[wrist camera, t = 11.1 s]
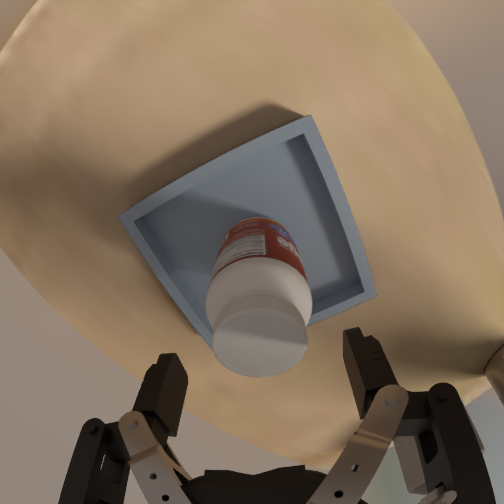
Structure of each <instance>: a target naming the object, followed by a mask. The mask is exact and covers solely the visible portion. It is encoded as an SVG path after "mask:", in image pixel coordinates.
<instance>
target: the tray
mask: <svg viewBox="0 0 504 504" xmlns="http://www.w3.org/2000/svg"><path fill="white" fill-rule="evenodd" d="M251 217H265V218H270V219H273V220H275V221H277V222H279V223H280V224H282V225H283V226H284V227H285V228H286V229H287V230H288V231H289V232H290V233H291V235H292V237H293V238H294V241H295V243H296V246H297V249H298V252H299V255H300V259H301V261H302V265H303V268H304V271H305V274H306V278H307V281H308V284H309V288H310V292H311V296H312V313H311V317H310V319H309V322H308V324H307V326H308V325H311V324H313V323H316V322H318V321H321V320H323V319H326V318H328V317H330V316H333V315H335V314H337V313H340V312H342V311H344V310H347V309H349V308H351V307H353V306H356V305H358V304H360V303H362V302H365V301H367V300H369V299H371V298H373V297H375V296H377V293H376V289H375V285H374V282H373V278H372V275H371V271H370V268H369V264H368V261H367V258H366V254H365V251H364V248H363V245H362V242H361V239H360V236H359V233H358V230H357V227H356V224H355V221H354V218H353V215H352V212H351V209H350V207H349V204H348V201H347V198H346V196H345V193H344V190H343V188H342V185H341V183H340V180H339V178H338V175H337V173H336V170H335V168H334V165H333V163H332V160H331V158H330V156H329V153H328V151H327V149H326V146H325V144H324V142H323V140H322V137H321V135H320V133H319V131H318V129H317V126H316V124H315V122H314V120H313V118H312V116H311V115H306V116H303V117H301V118H298V119H296V120H293V121H291V122H289V123H286V124H284V125H282V126H280V127H277V128H275V129H273V130H271V131H268V132H266V133H264V134H262V135H260V136H258V137H256V138H253V139H251V140H249V141H247V142H245V143H243V144H241V145H239V146H237V147H235V148H233V149H231V150H229V151H227V152H225V153H223V154H221V155H219V156H217V157H215V158H213V159H212V160H210V161H208V162H206V163H204V164H202V165H200V166H199V167H197V168H195V169H193V170H191V171H190V172H188V173H186V174H184V175H182V176H181V177H179V178H177V179H175V180H174V181H172V182H170V183H169V184H167V185H165V186H164V187H162V188H160V189H159V190H157V191H155V192H154V193H152V194H150V195H149V196H147V197H145V198H144V199H142V200H141V201H139V202H138V203H136V204H134V205H133V206H131V207H130V208H128V209H127V210H126V211H124V212H123V213H122V214H121V215H119V216H118V218H119V220H120V221H121V223H122V225H123V226H124V228H125V229H126V231H127V233H128V234H129V236H130V237H131V239H132V240H133V242H134V244H135V245H136V247H137V248H138V250H139V251H140V253H141V254H142V256H143V257H144V259H145V260H146V262H147V263H148V265H149V266H150V268H151V269H152V271H153V272H154V273H155V275H156V276H157V278H158V279H159V281H160V282H161V283H162V285H163V286H164V288H165V289H166V290H167V292H168V293H169V295H170V296H171V297H172V299H173V300H174V301H175V303H176V304H177V306H178V307H179V308H180V310H181V311H182V312H183V314H184V315H185V316H186V317H187V319H188V320H189V321H190V323H191V324H192V325H193V327H194V328H195V329H196V330H197V332H198V333H199V334H200V335H201V337H202V338H203V339H204V340H205V342H206V343H207V344H208V345H209V347H210V348H211V349H212V350H213V348H212V335H213V328H212V326H211V325H210V323H209V320H208V318H207V314H206V307H205V303H206V296H207V291H208V287H209V284H210V280H211V276H212V273H213V269H214V265H215V261H216V258H217V255H218V251H219V248H220V244H221V241H222V239H223V237H224V235H225V234H226V232H227V231H228V230H229V229H230V228H231V227H232V226H233V225H235V224H236V223H238V222H239V221H241V220H244V219H247V218H251Z"/></svg>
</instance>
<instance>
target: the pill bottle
mask: <svg viewBox="0 0 504 504" xmlns="http://www.w3.org/2000/svg"><path fill="white" fill-rule="evenodd" d="M205 307H206V314H207V318H208V320H209V323H210V325H211V326H212V328H213V335H212V348H213V352H214V354H215V356H216V358H217V359H218V360H219V362H220V363H221V364H222V365H224V366H225V367H226V368H228V369H229V370H231V371H233V372H235V373H238V374H240V375H244V376H249V377H269V376H274V375H278V374H281V373H283V372H285V371H287V370H289V369H291V368H292V367H294V366H295V365H296V364H297V363H298V362H299V361H300V360H301V359H302V357H303V356H304V354H305V352H306V349H307V344H308V338H307V332H306V326H307V324H308V322H309V319H310V317H311V313H312V296H311V292H310V288H309V284H308V281H307V278H306V274H305V271H304V268H303V265H302V261H301V259H300V255H299V252H298V249H297V246H296V243H295V241H294V238H293V237H292V235H291V233H290V232H289V231H288V230H287V229H286V228H285V227H284V226H283V225H282V224H280V223H279V222H277V221H275V220H273V219H270V218H265V217H251V218H247V219H244V220H241V221H239V222H238V223H236V224H235V225H233V226H232V227H231V228H230V229H229V230H228V231H227V232H226V234H225V235H224V237H223V239H222V241H221V244H220V248H219V251H218V255H217V258H216V261H215V265H214V269H213V273H212V276H211V280H210V284H209V287H208V291H207V296H206V303H205Z"/></svg>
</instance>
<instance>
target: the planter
mask: <svg viewBox="0 0 504 504" xmlns="http://www.w3.org/2000/svg"><path fill="white" fill-rule="evenodd" d="M462 403H463V402H462ZM463 406H464V404H463ZM464 408H465V406H464ZM465 410H466V408H465ZM466 413H467V415H468V418H469V420H470V422H471V425H472V428H473V430H474V433H475V435H476V438H477V441H478V443H479V446H480V449H481V452H482V454H483V452H484V446H483V444H482V442H481V439H480V437H479V435H478V433H477V431H476V428H475V427H474V424H473V423H472V420H471V418H470V416H469V414H468V412H467V410H466ZM393 442H394V445H395V449H396V451H397V455H398V458H399V462H400V465H401V468H402V472H403V476H404V479H405V483H406V486H407V490H408V492H409V493H415V494H421V495H428V493H427V488H426V483H425V478H424V474H423V470H422V465H421V461H420V457H419V453H418V449H417V446H416V442H415V438H414V436H396V437H395V438H394V439H393Z"/></svg>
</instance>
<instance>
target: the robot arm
mask: <svg viewBox="0 0 504 504" xmlns="http://www.w3.org/2000/svg"><path fill="white" fill-rule="evenodd" d="M343 358H344V363H345V367H346V370H347V374H348V377H349V380H350V384H351V387H352V391H353V394H354V398H355V401H356V405H357V409H358V412H359V416H360V420H361V419H364V420H363V422H362V423H361V425H360V427H359V429H358V430H357V432H356V433H354V434H353V435H352V437H351V438H350V440H349V442H348V443H347V445H346V447H345V448H344V450H343V452H342V453H341V455H340V456H339V458H338V460H337V461H336V463H335V464H334V466H333V467H332V469H331V470H330V472H329V473H328V475H327V474H324V473H321V472H318V471H313V470H305V465H299V466H291V467H282V468H277V469H274V470H270V471H267V472H263V473H260V474H256V475H249V474H244V473H238V472H234V471H229V470H205V474H204V475H203V476H199V477H196V478H194V479H192V478H191V476H190V475H189V474H188V473H187V472H186V471H185V469H184V468H183V466H182V465H181V463H180V462H179V460H178V458H177V457H176V455H175V454H174V452H173V450H172V449H171V447H170V446H169V444H168V442H167V439H168V436H172V437H176V436H177V431H178V426H179V421H180V417H181V413H182V408H183V404H184V399H185V395H186V390H187V386H188V376H187V373H186V371H185V369H184V367H183V365H182V363H181V361H180V359H179V357H178V356H177V354H176V353H166V354H160V355H159V358H158V361H157V363H156V364H152V366H151V367H150V368H149V369H148V370H147V371H146V374H145V377H144V379H143V380H144V381H143V382H142V385H141V388H140V390H139V393H138V396H137V398H136V401H135V404H134V407H133V409H132V411H130V412H127V413H126V414H125V415H123V416H122V417H121V419H120V420H119V421H118V422H113V423H108V424H105V423H104V422H103V421H101V420H100V419H98V418H92V419H90V420H88V421H87V422H86V423H85V424H84V425H83V427H82V430H81V432H80V435H79V438H78V441H77V444H76V447H75V449H74V452H73V456H72V458H71V462H70V465H69V468H68V472H67V474H66V478H65V481H64V484H63V488H62V492H61V495H60V499H59V503H58V504H123V503H124V497H125V492H126V486H127V481H128V476H129V471H130V467H131V470H132V472H133V474H134V476H135V478H136V480H137V482H138V484H139V486H140V488H141V490H142V492H143V494H144V496H145V498H146V500H147V502H148V504H368V503H366V502H365V501H364V500H362V499H361V497H362V495H363V494H364V492H365V490H366V489H367V487H368V485H369V484H370V482H371V480H372V478H373V477H374V475H375V473H376V471H377V469H378V467H379V466H380V464H381V462H382V460H383V458H384V456H385V454H386V452H387V450H388V448H389V446H390V443H391V441H392V439H393V437H394V436H414V438H415V442H416V446H417V449H418V453H419V457H420V461H421V465H422V470H423V474H424V478H425V483H426V488H427V493H428V495H426V496H425V497H424V498H422V499H421V500H420V502H419V503H418V504H496V501H495V496H494V493H493V488H492V485H491V481H490V477H489V474H488V471H487V467H486V465H485V461H484V458H483V455H482V452H481V449H480V446H479V443H478V441H477V438H476V435H475V433H474V430H473V428H472V425H471V422H470V420H469V418H468V415H467V413H466V410H465V408H464V406H463V403H462V401H461V399H460V397H459V394H458V392H457V390H456V389H455V387H454V386H452V385H451V384H448V383H438V384H435V385H434V386H432V387H431V388H430V390H429V391H424V392H411V391H407V390H405V389H404V388H403V387H401V386H400V385H399V384H398V382H397V380H396V378H395V376H394V373H393V371H392V369H391V367H390V364H389V362H388V360H387V358H386V356H385V353H384V352H383V349H382V347H381V345H380V343H379V341H378V340H376V339H375V338H374V337H373V336H372V335H371V336H367V337H364V336H363V334H362V332H361V329H360V328H359V327H357V328H352V329H348V330H344V331H343ZM484 373H485V376H486V377H487V379H488V380H489V382H490V384H491V385H492V387H493V389H494V390H495V392H496V393H497V395H498V397H499V399H500V400H501V402H502V404H503V406H504V346H503V347H502V348H501V349H500V350H499V351H498V352H497V353H496V354H495V355H494V356H493V358H492V359H491V360H490V362H489V363H488V365H487V367H486V369H485V372H484ZM104 455H105V458H104V461H103V457H104ZM102 461H103V465H102V469H101V464H102Z"/></svg>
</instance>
